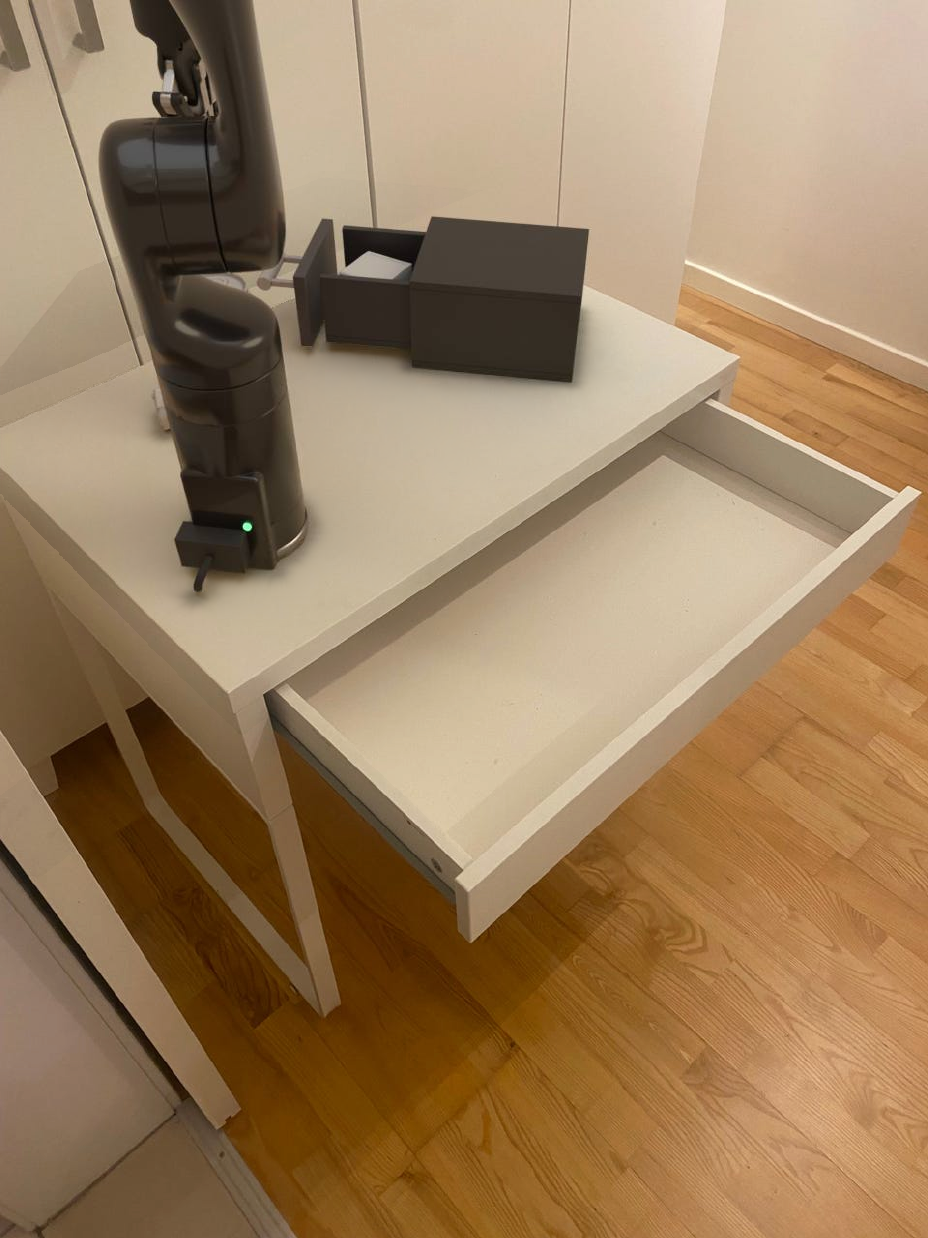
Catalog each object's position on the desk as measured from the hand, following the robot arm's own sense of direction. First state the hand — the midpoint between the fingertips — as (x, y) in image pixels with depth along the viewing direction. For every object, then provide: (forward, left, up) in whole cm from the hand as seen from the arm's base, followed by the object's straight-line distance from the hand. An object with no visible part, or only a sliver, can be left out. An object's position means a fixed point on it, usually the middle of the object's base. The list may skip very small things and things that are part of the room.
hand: (206, 173), depth 94 cm
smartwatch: (-20, 0, -16) cm, 25 cm away
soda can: (-15, -5, -16) cm, 22 cm away
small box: (0, -16, -14) cm, 21 cm away
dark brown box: (0, -30, -15) cm, 33 cm away
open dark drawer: (0, -15, -14) cm, 21 cm away
